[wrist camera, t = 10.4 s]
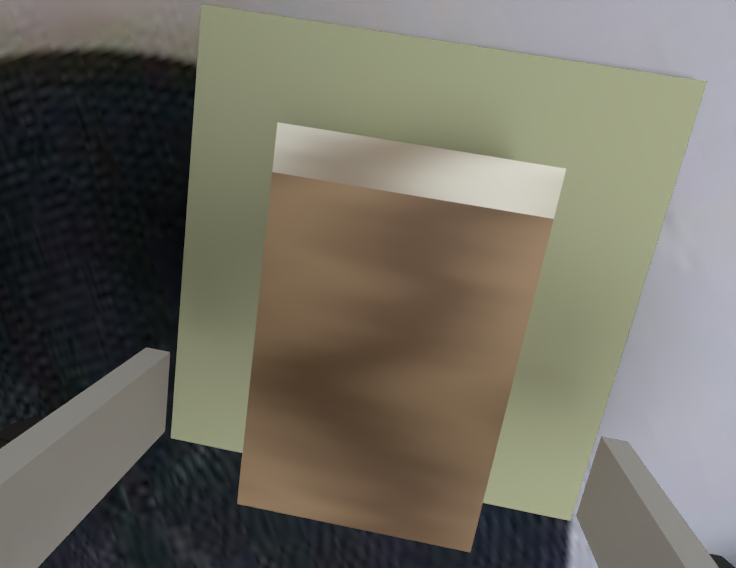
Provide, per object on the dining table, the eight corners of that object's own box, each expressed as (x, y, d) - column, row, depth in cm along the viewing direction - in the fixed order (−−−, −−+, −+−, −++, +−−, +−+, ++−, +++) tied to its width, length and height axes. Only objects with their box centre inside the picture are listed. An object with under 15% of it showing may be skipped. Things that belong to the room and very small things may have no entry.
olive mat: (180, 426, 24) (170, 438, 23) (212, 11, 20) (201, 3, 19) (564, 505, 23) (569, 520, 22) (692, 85, 18) (706, 81, 17)
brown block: (236, 503, 15) (277, 122, 12) (293, 397, 22) (328, 134, 19) (470, 552, 15) (566, 168, 12) (455, 428, 22) (514, 164, 19)
